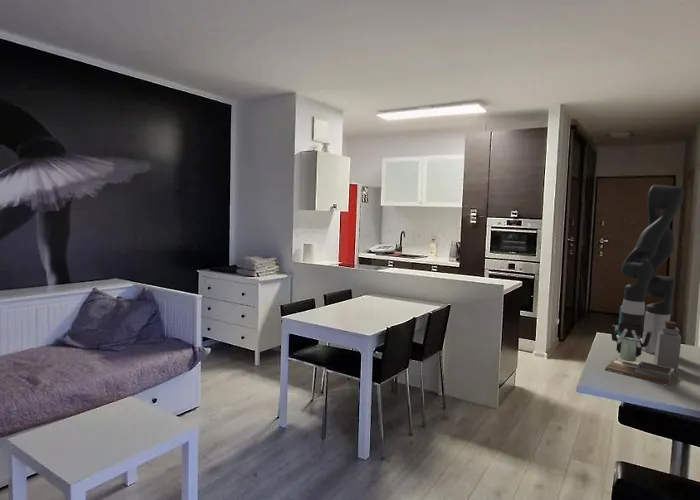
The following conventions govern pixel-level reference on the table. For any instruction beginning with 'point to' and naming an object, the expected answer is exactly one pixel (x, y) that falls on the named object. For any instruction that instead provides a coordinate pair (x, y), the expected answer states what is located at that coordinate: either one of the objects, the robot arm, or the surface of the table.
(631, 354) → the pale green rounded piece
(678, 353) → the perfume bottle
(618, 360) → the wooden panel with label
